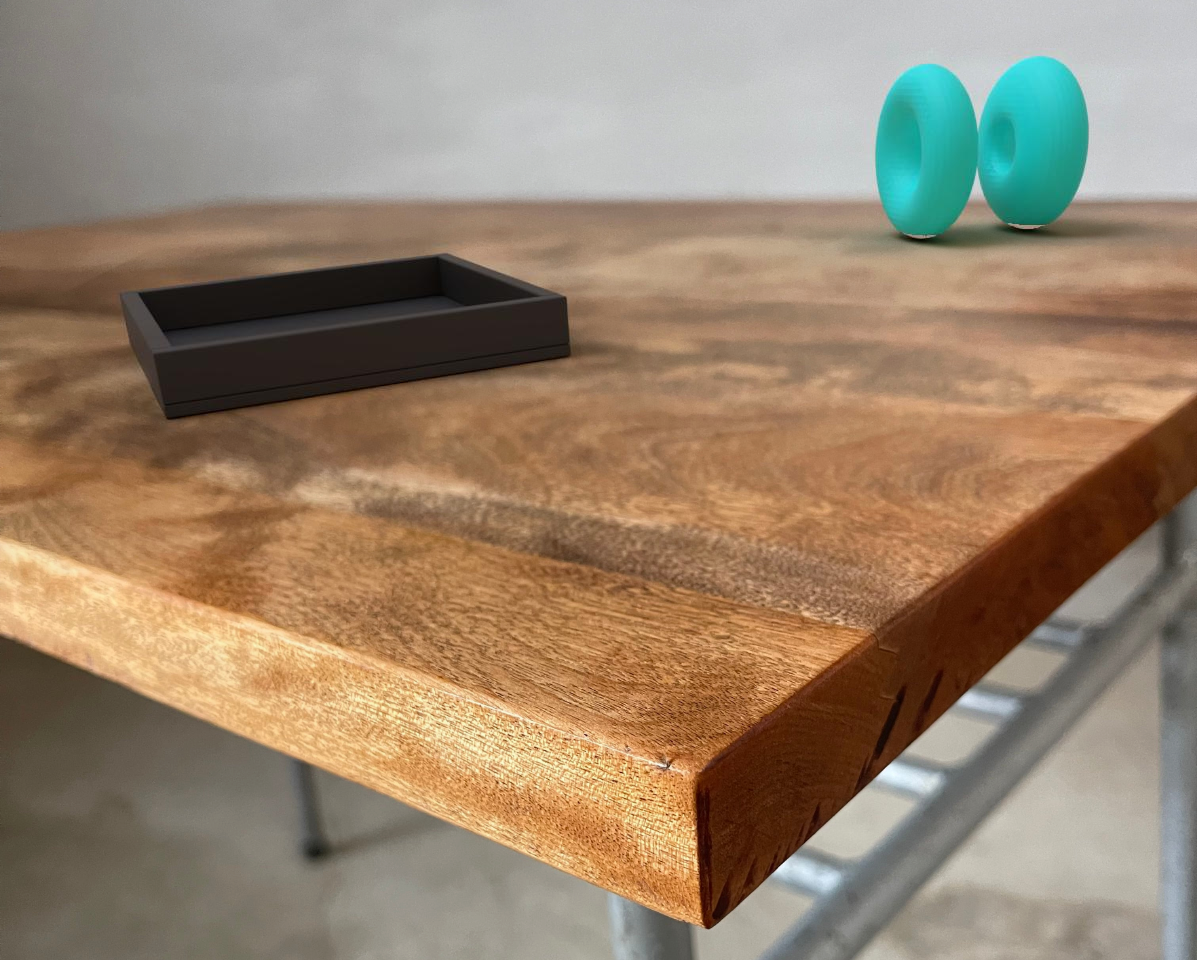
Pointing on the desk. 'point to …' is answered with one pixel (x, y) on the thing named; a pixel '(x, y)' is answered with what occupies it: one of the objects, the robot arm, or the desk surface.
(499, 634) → the desk surface
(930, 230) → the donuts
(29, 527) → the desk surface
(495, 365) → the tray
